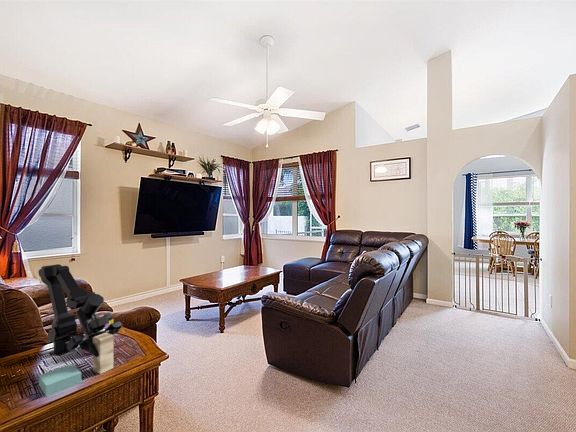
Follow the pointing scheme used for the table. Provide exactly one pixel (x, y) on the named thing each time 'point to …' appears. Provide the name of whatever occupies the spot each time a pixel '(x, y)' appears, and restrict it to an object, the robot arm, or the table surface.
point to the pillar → (103, 352)
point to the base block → (59, 379)
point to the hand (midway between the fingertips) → (105, 353)
